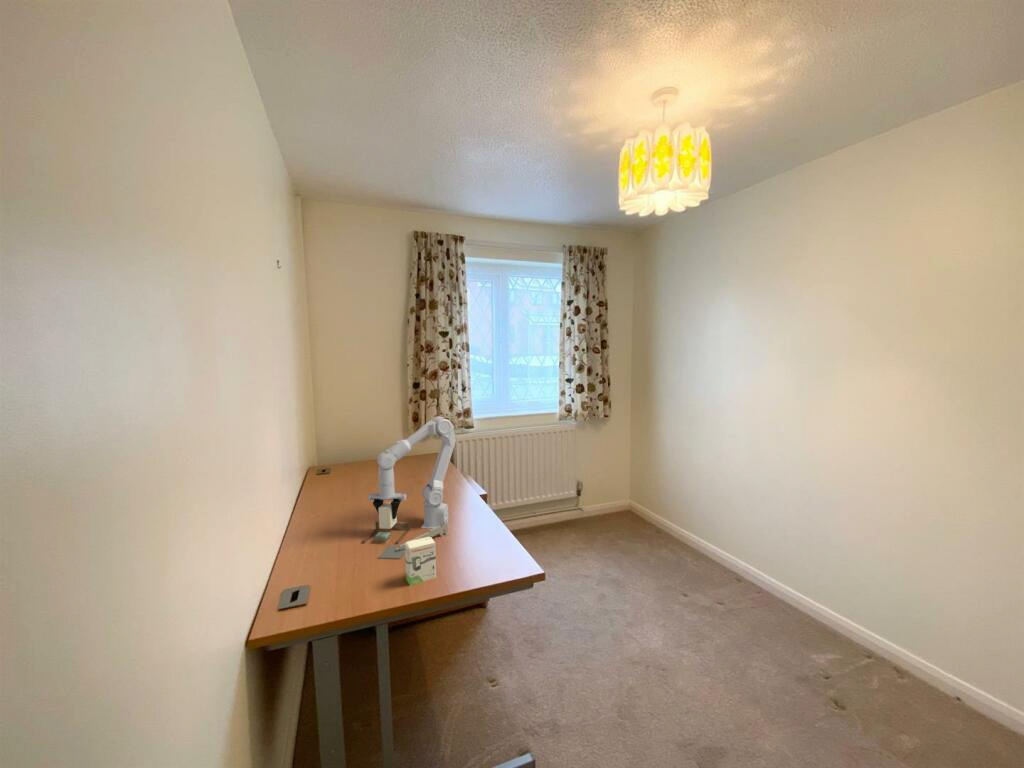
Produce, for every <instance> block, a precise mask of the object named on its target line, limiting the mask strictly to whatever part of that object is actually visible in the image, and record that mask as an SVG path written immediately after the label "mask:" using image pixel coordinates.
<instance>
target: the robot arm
mask: <svg viewBox="0 0 1024 768" xmlns="http://www.w3.org/2000/svg"><path fill="white" fill-rule="evenodd" d="M430 435H431V436H432V435H438V436H439V438H440V440H441V444H440V448H439V450H438V451H439V452H438V455H437V458H436V461H435V464H434V466H433V471H432V473H431V477H430V479H428V480H427V483H426V485H424V488H423V489H422V493H421V494H422V497H423V498H424V502H423V520H424V521H423V522H424V523H423V524H422V525H421V527H420V529H430V530H431V529H433V528H435V527H437V526H439V525H440V526H441V523H442V524H443V521H444V522H445V523H446V524H447V525H448V522H449V505H448V504H447V503H443V500H444V494H443V493H444V480H445V477H446V474H447V470H448V467H449V466H450V465H449V464H450V460H451V457H452V455H453V451H454V448H455V445H456V442H457V441H456V440H457V439H456V433H455V426H454V424H453V423H452V422H451V420H449V419H447V418H444V417H443V416H439V415H437V416H435V417H433V418H432V419H430V420H429V421H427V422H426V423H425V424H424V425H423V426H421V427H420V428H419V429H417V431H415V432H414V433H413V434H411V436H409V437H408V438H407V439H400V440H396V441H395V444H393V445H392V446H391V447H389V448H386V449H385V450H384V451H383V452H381V453H379V454H378V456H377V459H376V463H377V465H378V493H370V494H368V495H367V501H373V502H372V505H373V507H374V508H375V509H376V512H377V515H378V516H379V507H380V506H381V505H383V504H384V501H390V503H391V506H392V518H393V519H395V518H396V515H397V514H398V510H399V506H400V504H401V502H402V501H406V500H407V493H399V492H398V493H397V492H395V471H394V467H395V464H396V462H398V461H399V460H400V459H402V458H403V457H405V456H406V455H407V454H408V453H410V452H411V448H412V447H413V446H414V445H416V444H417V443H419V442H420V441H422V440H423V439H424V438H426V437H427V436H430ZM440 522H441V523H440Z"/></svg>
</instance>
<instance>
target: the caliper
mask: <svg viewBox="0 0 1024 768" xmlns="http://www.w3.org/2000/svg"><path fill="white" fill-rule="evenodd" d="M440 523H441V522H440ZM448 528H449V527H448V523H447V524H446V523H445V522H444V521H443V524H442V523H441V526H440V525H439V526H437V527H435V528H433V529H431V528H430V529H429V531H427V532H425V533H423V534H421V535H418V536H416V537H414V538H412V539H410V540H409V541H412V540H416V539H421V538H426V537H431V538H433V537H435V536H437V535H438V534H439V536H440V537H444V535H448V533H449V532H448ZM443 531H444V532H443ZM406 542H407V541H406ZM406 542H404V543H402V544H399V545H398V546H399V547H398V548H396V550H399V549H400V550H402V549H404V548H405V543H406Z"/></svg>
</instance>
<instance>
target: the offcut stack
mask: <svg viewBox="0 0 1024 768" xmlns="http://www.w3.org/2000/svg"><path fill="white" fill-rule="evenodd" d="M390 540H391V532H388V531H387V532H386V531H384V532H383V531H379V532H378V533H377V534H376V535H375V536H374V544H375V545H376V544H380V545H382V544H384V545H387V544H388V542H390Z"/></svg>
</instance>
